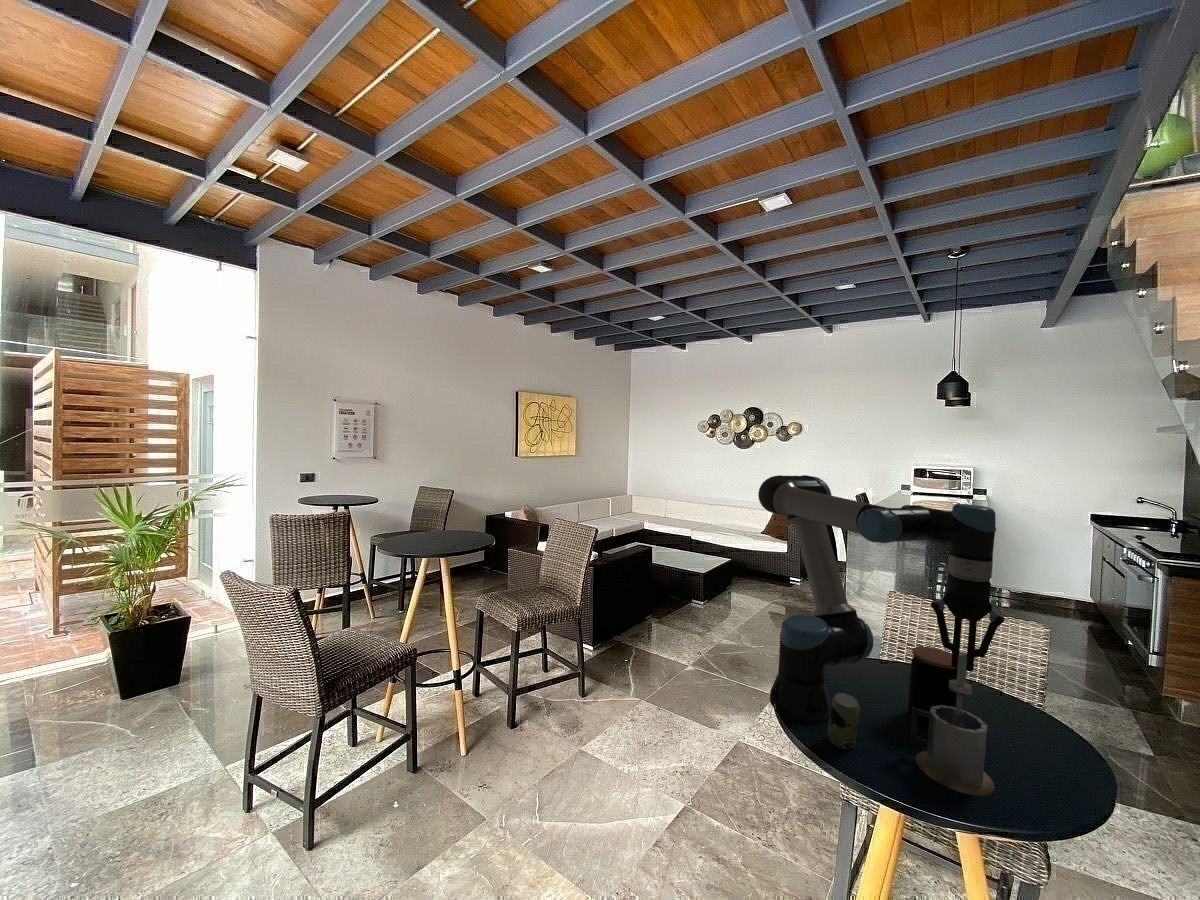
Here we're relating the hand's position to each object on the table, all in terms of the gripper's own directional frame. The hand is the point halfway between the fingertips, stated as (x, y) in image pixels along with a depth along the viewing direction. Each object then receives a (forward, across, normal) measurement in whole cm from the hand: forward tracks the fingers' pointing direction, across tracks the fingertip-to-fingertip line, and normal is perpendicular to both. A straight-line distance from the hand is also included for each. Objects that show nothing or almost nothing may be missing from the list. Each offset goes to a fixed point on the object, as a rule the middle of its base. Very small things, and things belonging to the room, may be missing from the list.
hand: (960, 683), depth 106 cm
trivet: (+20, 0, 0) cm, 20 cm away
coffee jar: (+21, -6, +20) cm, 29 cm away
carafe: (+20, -2, 0) cm, 20 cm away
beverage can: (+21, -21, -7) cm, 30 cm away
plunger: (+13, 0, 0) cm, 13 cm away
